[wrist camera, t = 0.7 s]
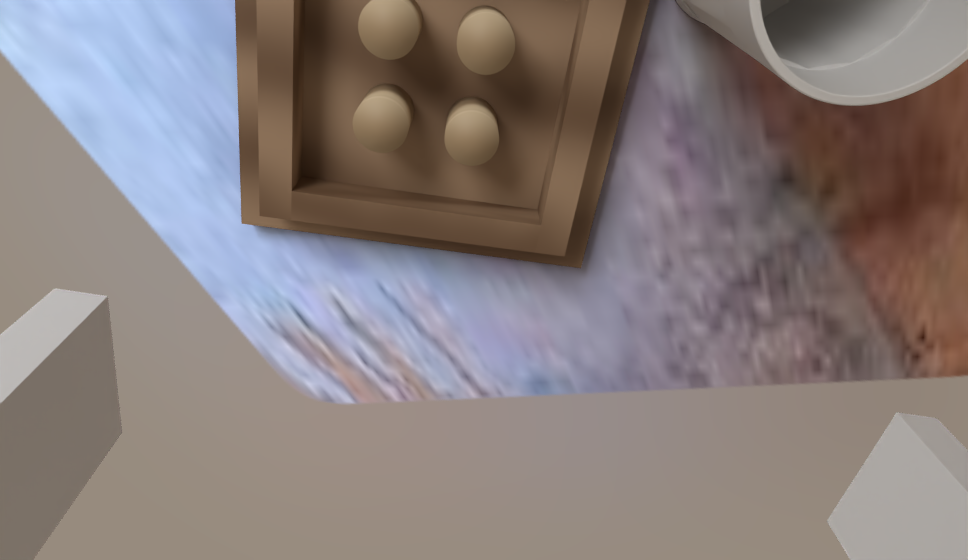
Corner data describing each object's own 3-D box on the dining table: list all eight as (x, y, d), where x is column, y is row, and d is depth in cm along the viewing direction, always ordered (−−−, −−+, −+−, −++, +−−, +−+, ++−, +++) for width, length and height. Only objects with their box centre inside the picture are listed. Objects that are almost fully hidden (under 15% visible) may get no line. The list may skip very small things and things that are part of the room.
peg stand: (237, -200, 25) (200, -221, 22) (673, -117, 27) (703, -124, 23) (247, 215, 34) (221, 248, 30) (578, 259, 35) (589, 295, 32)
